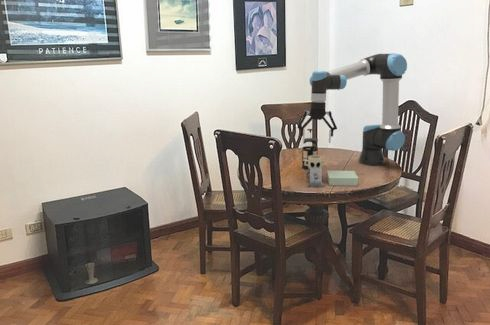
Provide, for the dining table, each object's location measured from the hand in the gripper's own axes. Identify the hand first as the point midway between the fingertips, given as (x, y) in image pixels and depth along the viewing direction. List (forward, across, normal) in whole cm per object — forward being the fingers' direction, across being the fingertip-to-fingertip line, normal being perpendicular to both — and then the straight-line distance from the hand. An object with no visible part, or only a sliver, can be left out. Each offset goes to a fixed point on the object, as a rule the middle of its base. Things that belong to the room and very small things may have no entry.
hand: (316, 142), depth 237 cm
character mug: (+20, 0, +2) cm, 20 cm away
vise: (+20, 0, +2) cm, 20 cm away
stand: (+20, -14, +4) cm, 24 cm away
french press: (+20, +2, -26) cm, 33 cm away
